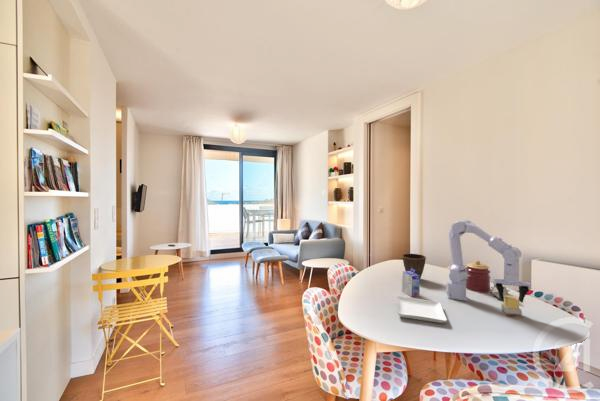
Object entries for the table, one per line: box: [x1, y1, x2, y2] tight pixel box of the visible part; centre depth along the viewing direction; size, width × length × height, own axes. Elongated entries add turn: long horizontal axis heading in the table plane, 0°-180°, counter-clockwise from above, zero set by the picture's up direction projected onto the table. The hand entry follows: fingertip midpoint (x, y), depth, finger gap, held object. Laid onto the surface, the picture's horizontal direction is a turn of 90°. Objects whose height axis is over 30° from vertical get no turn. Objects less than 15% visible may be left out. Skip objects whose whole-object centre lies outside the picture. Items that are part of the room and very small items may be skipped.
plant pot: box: [401, 253, 427, 279], centre depth 179 cm, size 15×15×16 cm
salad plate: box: [396, 296, 448, 324], centre depth 128 cm, size 21×21×3 cm
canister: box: [465, 259, 491, 293], centre depth 160 cm, size 13×13×18 cm
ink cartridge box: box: [401, 268, 421, 298], centre depth 153 cm, size 10×6×14 cm, turn 12°
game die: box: [489, 284, 510, 301], centre depth 145 cm, size 9×8×10 cm
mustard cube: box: [503, 295, 520, 309], centre depth 126 cm, size 4×4×4 cm
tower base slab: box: [501, 308, 523, 320], centre depth 126 cm, size 6×6×2 cm
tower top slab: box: [501, 303, 523, 315], centre depth 126 cm, size 6×6×2 cm
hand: (511, 300), depth 126 cm, fingers open, 7 cm apart
